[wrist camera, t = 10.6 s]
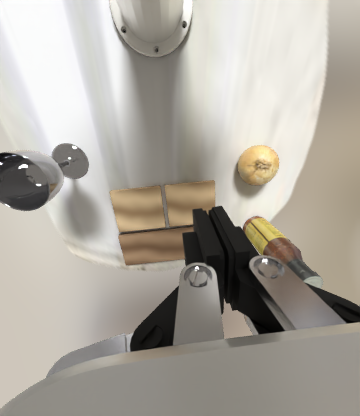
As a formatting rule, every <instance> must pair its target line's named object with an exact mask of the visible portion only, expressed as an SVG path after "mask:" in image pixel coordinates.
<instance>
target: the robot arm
mask: <svg viewBox="0 0 360 416" xmlns="http://www.w3.org/2000/svg"><path fill="white" fill-rule="evenodd" d="M109 5H110V10H111V14H112V18H113V20H114V23H115V25H116V27H117V29H118V31H119V33H120V35H121V36H122V37H123V39H124V40H125V42H126V43H127V44H128V45H129V46H130V47H131V48H133V49H134V50H135V51H137V52H138V53H140V54H143V55H145V56H149V57H161V56H164V55H167V54H169V53H171V52H173V51H174V50H175V49H176V48H177V47H178V46H179V45H180V44H181V42H182V41H183V40H184V38H185V36H186V34H187V32H188V29H189V26H190V22H191V18H192V10H193V0H109ZM183 25H184V26H185V28H183V27H182V26H183ZM124 30H126V33H123V31H124ZM156 49H157V50H158V52H155V50H156ZM192 214H193V230H194V231H193V232H184V233H182V237H183V248H184V256H185V264H186V267H184V268H183V270H182V271H181V274H180V282H179V286H178V287H177V288H176V289H175V290H174V291H173V292H172V293H171V294H170V295H169V296H168V297H167V298H166V299H165V300H164V301H163V302H162V303H161V304H160V305H159V306H158V307H157V308H156V309H155V310H154V311H153V312H152V313H151V314H150V315H149V316H148V317H147V318H146V319H145V320H144V321H143V322H142V323H141V324H140V325H139V326H138V328H137V329H136V330H135V331H134V333H131V334H128V335H125V333H122V334H120V335H117V336H114V337H111V338H109V339H106V340H103V341H100V342H98V343H95V344H92V345H90V346H87V347H84V348H81V349H78V350H76V351H73V352H70V353H69V354H67V355H65V356H63V357H62V358H60V359H59V360H58V361H57V362H56V363H55V364H54V366H53V367H52V368H51V369H50V371H49V372H48V374H47V377H46V378H45V379H43V380H41V381H40V382H38V383H36V384H35V385H33V386H31V387H29V388H28V389H26V390H25V391H23V392H22V393H20V394H19V395H17V396H16V397H15V398H14V399H12V400H11V401H9V402H8V403H7V404H5V406H3V407H2V408H1V409H0V416H360V306H358V305H356V304H354V303H352V302H351V301H348V300H346V299H344V298H341V297H339V296H337V295H334V294H332V293H329V292H327V291H324V290H322V289H320V288H317V287H315V286H313V285H310V284H308V283H305V282H303V281H302V280H301V279H300V278H299V277H298V276H297V275H296V274H295V273H294V272H293V271H292V270H291V269H290V268H289V267H288V266H287V265H286V264H285V263H283V262H282V261H281V260H279V259H277V258H275V257H272V256H267V255H259V254H258V252H257V251H256V249H255V248H254V246H253V245H252V243H251V242H250V240H249V239H248V237H247V236H246V234H245V233H244V231H243V230H242V228H241V227H239V226H238V227H235V226H234V225H233V223H232V221H231V220H230V218H229V217H228V215H227V213H226V212H225V210H224V209H223V207H222V206H218V207H212V209H211V210H208V214H207V211H206V210H203V209H202V208H199V209H192ZM224 299H225V301H226V303H230V305H231V308H232V310H238V311H239V312H241V313H243V314H244V318H245V321H246V323H247V325H248V326H249V328H250V330H251V332H252V334H253V336H244V337H237V338H229V339H224V332H223V324H222V317H221V315H222V314H223V309H224Z"/></svg>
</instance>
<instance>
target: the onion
mask: <svg viewBox="0 0 360 416" xmlns="http://www.w3.org/2000/svg"><path fill="white" fill-rule="evenodd" d="M278 168H279V158H278V155H277V154H276V152H275V151H274V150H273V149H271V148H270V147H268V146H263V145H257V146H252V147H250V148H248V149H247V150H246V151H244V152H243V154H242V155H241V156H240V158H239V162H238V172H239V174H240V176H241V178H242V179H243V180H244V181H245V182H246V183H248V184H251V185H263V184H265V183H267V182H269V181H270V180H271V179H272V178H273V177H274V176H275V175H276V173H277V171H278Z"/></svg>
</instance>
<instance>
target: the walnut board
mask: <svg viewBox="0 0 360 416" xmlns="http://www.w3.org/2000/svg"><path fill="white" fill-rule="evenodd" d="M193 231H194V230H193V226H187V227H178V228H169V229H159V230H150V231H141V232H131V233H122V234H119V236H118V238H119V241H120V245H121V249H122V253H123V256H124V260H125V264H126V265H133V264H142V263H151V262H160V261H169V260H178V259H185V256H184V248H183V237H182V233H184V232H193Z"/></svg>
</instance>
